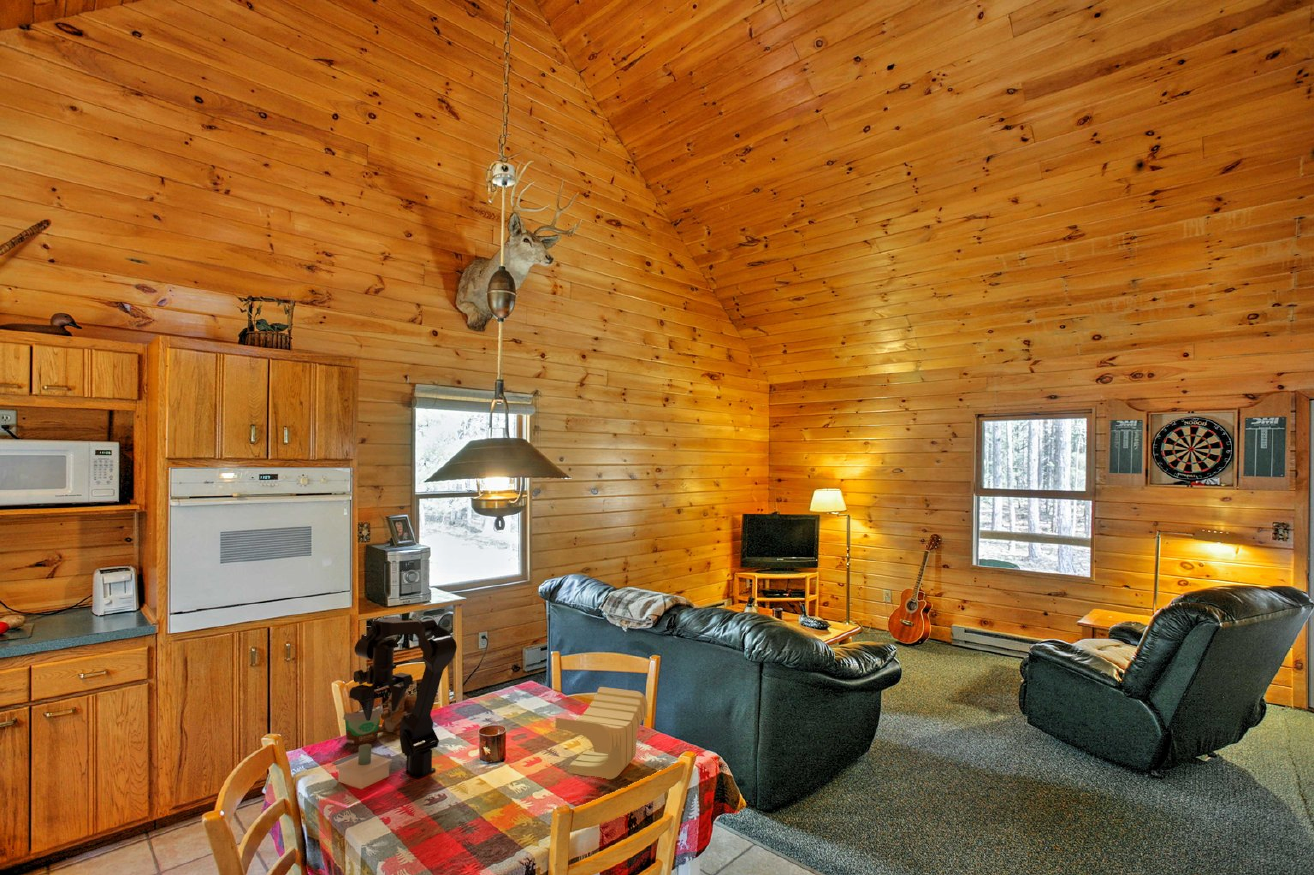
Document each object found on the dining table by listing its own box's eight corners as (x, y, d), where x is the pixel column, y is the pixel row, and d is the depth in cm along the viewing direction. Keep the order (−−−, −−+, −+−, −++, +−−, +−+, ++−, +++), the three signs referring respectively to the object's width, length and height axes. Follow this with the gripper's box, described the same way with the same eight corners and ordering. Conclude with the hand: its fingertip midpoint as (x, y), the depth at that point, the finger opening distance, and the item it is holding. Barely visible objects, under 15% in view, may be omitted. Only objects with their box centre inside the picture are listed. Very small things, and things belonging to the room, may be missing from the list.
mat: (389, 759, 200) (389, 757, 200) (357, 773, 190) (357, 770, 190) (363, 751, 205) (363, 749, 205) (331, 765, 195) (331, 762, 195)
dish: (388, 778, 187) (389, 763, 187) (361, 791, 179) (361, 775, 179) (366, 771, 191) (366, 756, 192) (338, 783, 183) (338, 768, 184)
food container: (352, 750, 205) (353, 716, 206) (341, 745, 209) (343, 712, 210) (390, 738, 215) (391, 706, 216) (379, 734, 219) (380, 702, 220)
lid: (392, 762, 188) (393, 743, 188) (361, 776, 179) (362, 756, 179) (367, 755, 192) (367, 736, 193) (335, 768, 183) (336, 748, 184)
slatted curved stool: (608, 794, 179) (609, 725, 180) (554, 785, 184) (555, 717, 186) (646, 752, 208) (647, 692, 209) (598, 744, 213) (599, 686, 214)
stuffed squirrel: (370, 734, 219) (372, 692, 219) (402, 720, 232) (403, 680, 233) (395, 739, 215) (397, 696, 216) (426, 724, 228) (427, 684, 229)
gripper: (389, 651, 214) (387, 702, 213) (337, 665, 198) (334, 720, 197) (415, 656, 209) (413, 708, 208) (364, 670, 193) (361, 727, 192)
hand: (381, 715), depth 201 cm, fingers open, 9 cm apart
